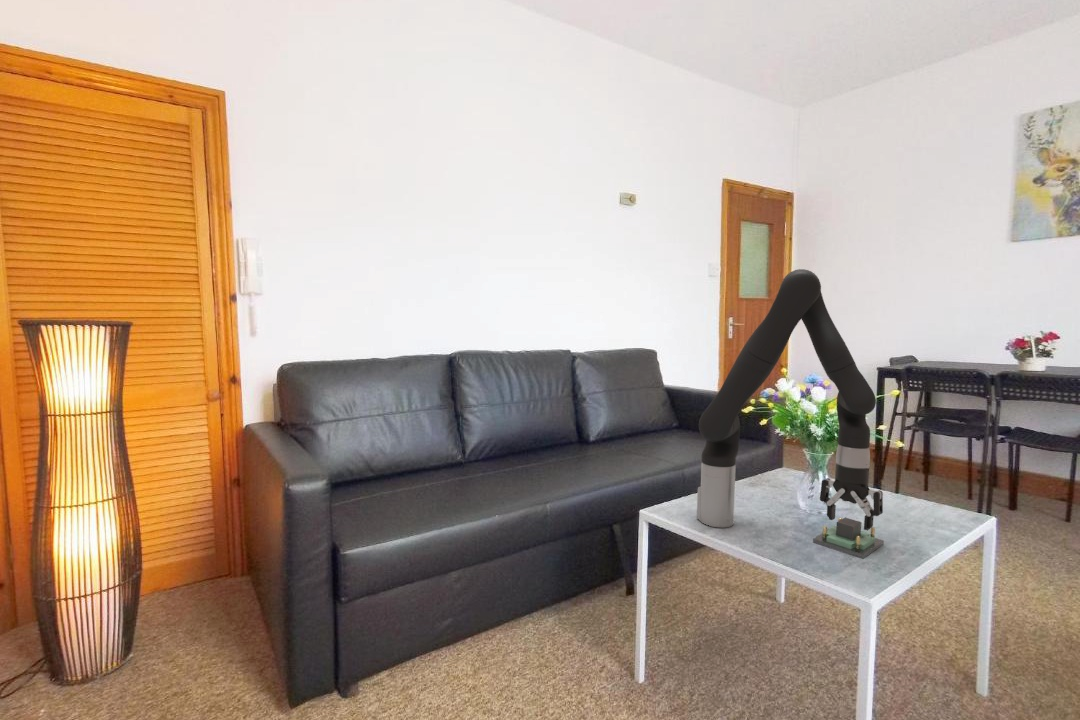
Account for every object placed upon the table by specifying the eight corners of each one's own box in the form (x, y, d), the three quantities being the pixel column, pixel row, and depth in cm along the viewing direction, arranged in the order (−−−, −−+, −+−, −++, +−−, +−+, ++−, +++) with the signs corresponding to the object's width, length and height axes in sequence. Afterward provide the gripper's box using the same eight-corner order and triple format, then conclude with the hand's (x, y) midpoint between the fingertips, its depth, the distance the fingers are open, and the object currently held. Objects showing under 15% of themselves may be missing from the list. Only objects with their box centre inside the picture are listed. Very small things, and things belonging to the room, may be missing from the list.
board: (818, 538, 142) (819, 521, 142) (837, 528, 149) (838, 511, 149) (859, 552, 135) (861, 533, 134) (877, 540, 141) (878, 522, 141)
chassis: (812, 542, 143) (813, 525, 142) (834, 529, 151) (835, 513, 150) (862, 558, 133) (864, 540, 133) (883, 544, 142) (884, 527, 141)
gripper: (817, 459, 143) (814, 519, 145) (877, 472, 132) (873, 537, 134) (830, 454, 148) (827, 513, 149) (889, 466, 137) (885, 529, 138)
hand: (849, 524), depth 142 cm, fingers open, 8 cm apart
